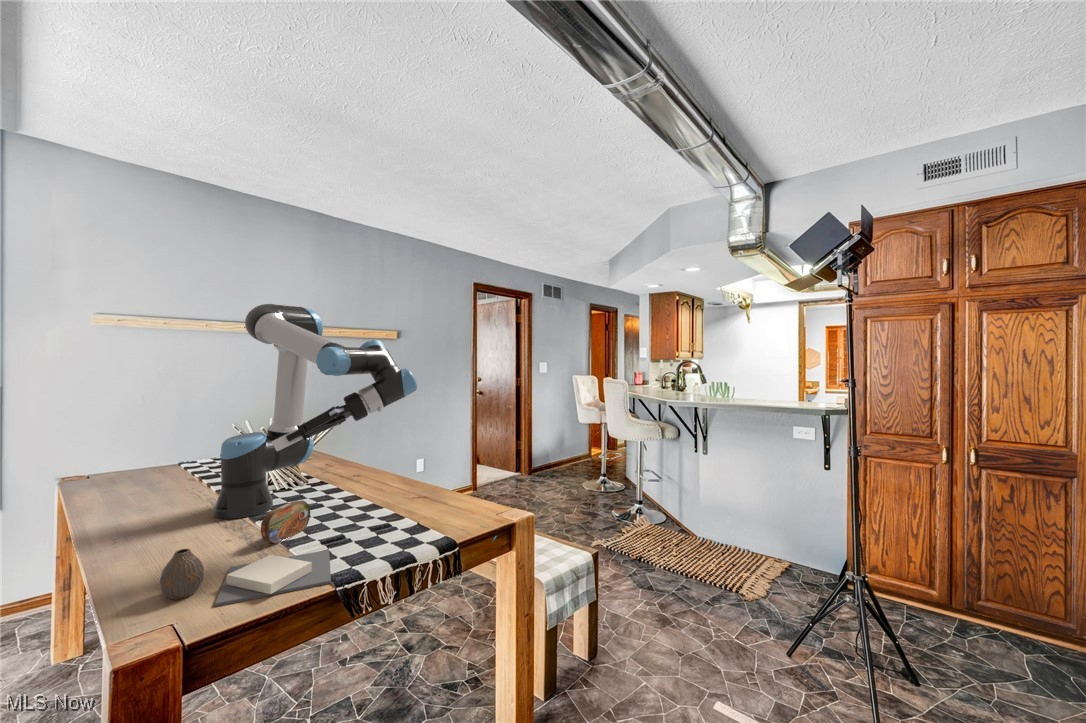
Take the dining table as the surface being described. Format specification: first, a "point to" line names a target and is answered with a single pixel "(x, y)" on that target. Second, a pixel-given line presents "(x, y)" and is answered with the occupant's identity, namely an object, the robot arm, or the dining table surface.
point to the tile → (269, 574)
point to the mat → (312, 579)
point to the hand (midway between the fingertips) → (274, 446)
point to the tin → (285, 521)
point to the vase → (182, 575)
